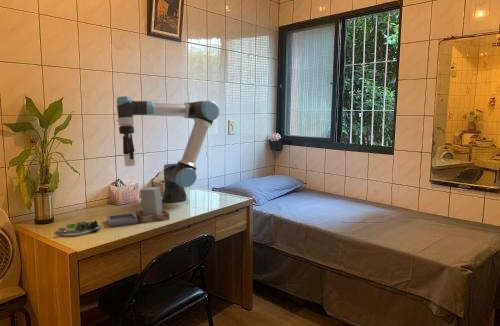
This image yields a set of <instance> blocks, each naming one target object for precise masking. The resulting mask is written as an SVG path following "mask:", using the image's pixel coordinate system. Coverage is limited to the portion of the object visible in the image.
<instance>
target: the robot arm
mask: <svg viewBox="0 0 500 326" xmlns="http://www.w3.org/2000/svg"><path fill="white" fill-rule="evenodd" d="M116 110H117V122H118V131H119V132H118V133H119V134H120V135H123V136H122V154H123V158H124V167H132V166H133V167H134V166H135V165H136V161H135V144H134V140H133V134H134V133H135V126H134V125H135V124H134V116H153V117H154V116H159V117H182V118H184V119H193V121H194V123H193V125H192V130H191V132H190V135H189V137H188V141H187V143H186V146H185V149H184V152H183V155H182V157H181V159H180V160H177V162H176V163H166V164H164V165H163V181H164V182H163V183H164V184H163V185H164V188H163V192H162V194H161V201H162V202H164V203H179V202H180V203H181V202H185V201H186V200H188V198H187V197H188V196H187V193H186V191H185V188H190V187H191V186H193V185H194V184H195V183H196V181H197V176H198V175H197V173H196V171H197V167H198V166H196V165H197V160H198V157H199V154H200V151H201V150H202V147H203V143H204V141H205V137H206V135H207V131H208V129H209V127H212V126H213V122H214V121H215V120H216V119H217V118H218V117H219V115H220V108H219V106H218V104H217V102H215V101H213V100H209V99H208V100H207V99H206V100H200V101H199V100H198V101H193V102H192V101H191V102H184V103H165V102H153V101H151V100H149V101H148V100H132V98H131V96H124V95H123V96H119V97H117V98H116Z"/></svg>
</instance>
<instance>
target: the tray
mask: <svg viewBox="0 0 500 326" xmlns="http://www.w3.org/2000/svg"><path fill="white" fill-rule="evenodd" d="M106 222H107V225H108V226H109V228H116V227H123V226H125V227H126V226H130V225H138V224H139V220H138V218H137V217H136V213H134V212H130V213H129V212H128V213H121V214H119V213H118V214H113V215H107V216H106Z"/></svg>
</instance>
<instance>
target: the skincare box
mask: <svg viewBox="0 0 500 326" xmlns="http://www.w3.org/2000/svg"><path fill="white" fill-rule="evenodd" d="M139 191H140V197H141V199H140V200H141V208H142V209H141V210H143V216H149V215H157V214H163V211H162V208H163V204H162V202H163V201H162V192H161V187H160V186H152V187H151V186H146V187H144V188H141V189H140V190H139Z"/></svg>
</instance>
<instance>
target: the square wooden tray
mask: <svg viewBox="0 0 500 326" xmlns="http://www.w3.org/2000/svg"><path fill="white" fill-rule="evenodd" d="M162 211H163V214H157V215H149V216H143V210H142V209H140V210H135V216H136V217H137V218H138V222H140V224H144V223H152V222H153V223H154V222H160V221H167V220H168V221H169V220H170V213H169V212H168V211H167V210H166V209H165V208H164V207H162Z"/></svg>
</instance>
